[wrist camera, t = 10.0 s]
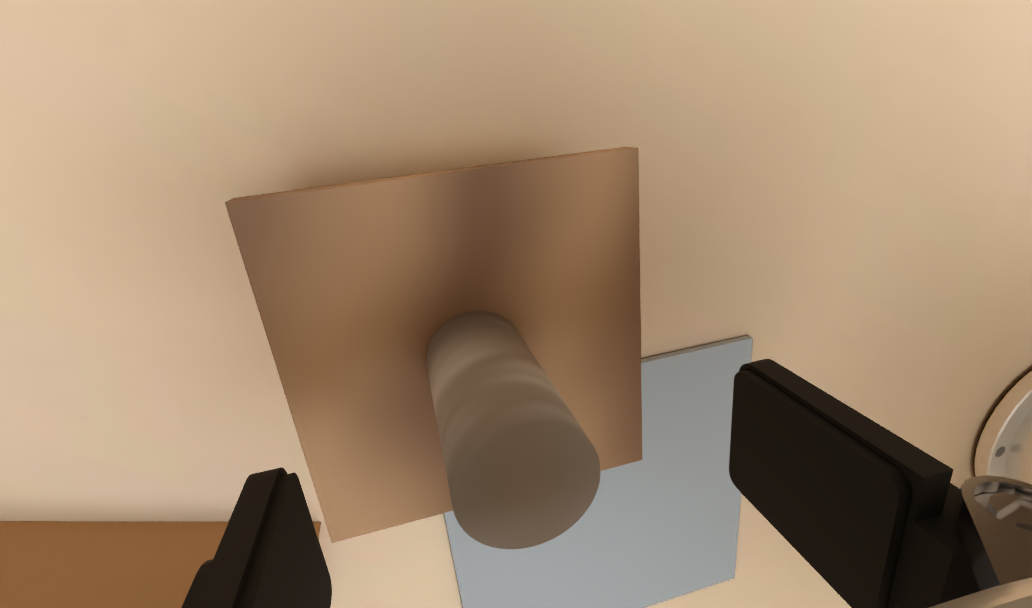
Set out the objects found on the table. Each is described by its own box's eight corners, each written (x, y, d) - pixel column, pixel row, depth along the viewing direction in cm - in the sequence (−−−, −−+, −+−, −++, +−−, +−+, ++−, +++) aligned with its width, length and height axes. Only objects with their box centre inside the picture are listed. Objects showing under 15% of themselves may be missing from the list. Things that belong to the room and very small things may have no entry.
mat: (747, 335, 27) (752, 338, 27) (730, 573, 34) (734, 577, 33) (423, 407, 24) (423, 411, 24) (473, 657, 30) (474, 663, 30)
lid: (625, 147, 15) (798, 160, 9) (632, 446, 19) (754, 603, 13) (233, 198, 13) (93, 264, 7) (333, 524, 17) (305, 758, 11)
